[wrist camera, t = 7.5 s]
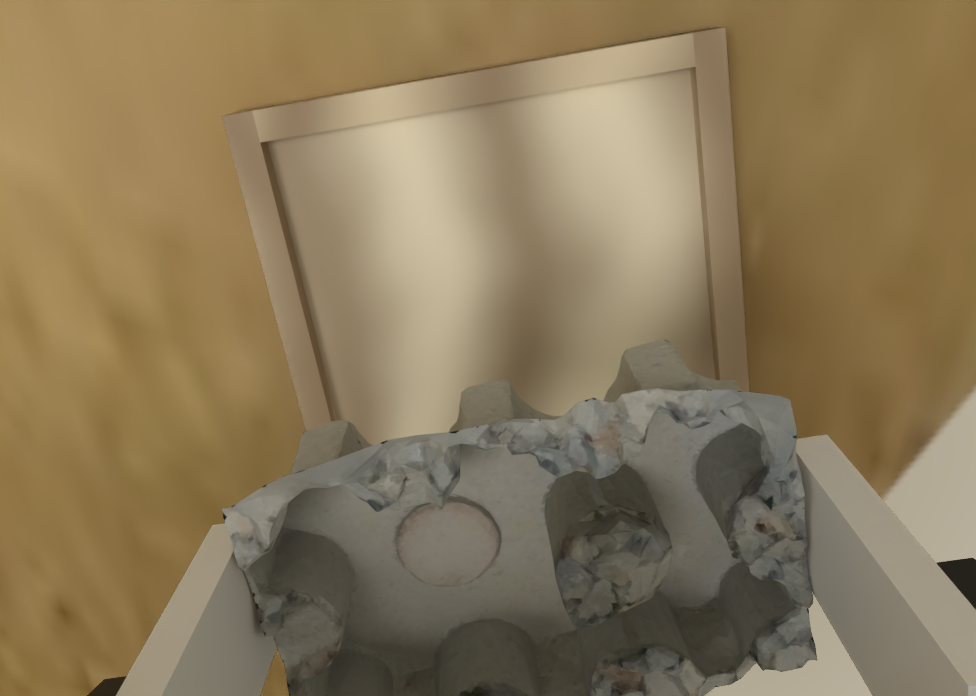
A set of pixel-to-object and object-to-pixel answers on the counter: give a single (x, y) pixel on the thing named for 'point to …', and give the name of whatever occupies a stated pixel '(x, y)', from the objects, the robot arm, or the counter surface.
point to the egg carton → (541, 546)
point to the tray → (499, 231)
